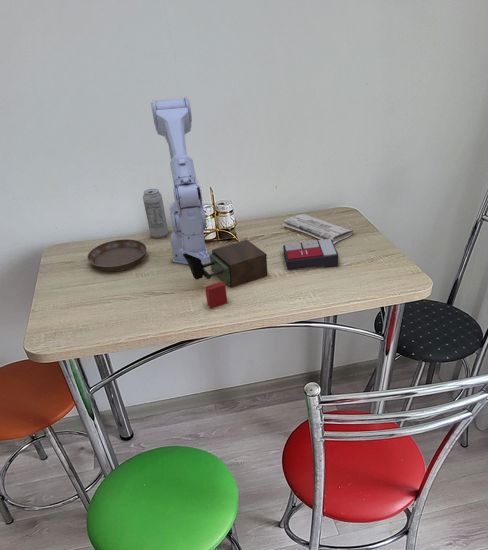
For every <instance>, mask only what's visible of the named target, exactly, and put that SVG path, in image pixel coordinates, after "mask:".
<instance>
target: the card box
mask: <svg viewBox="0 0 488 550" xmlns="http://www.w3.org/2000/svg"><path fill="white" fill-rule="evenodd" d="M226 286H227V285H226V284H225V283H224V282H223V281H222V280H221V281H218V282H214V283H212V284H209V285H205V286H204V289H205V297H206V303H207V306H208V307H209V308H210V309H215V308H217V307H221V306H223V305H226V304H228V297H227V295H228V294H227V287H226Z"/></svg>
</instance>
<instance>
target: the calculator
mask: <svg viewBox="0 0 488 550" xmlns="http://www.w3.org/2000/svg"><path fill="white" fill-rule="evenodd" d="M282 249H283V256H284V261H285V265H286V270H287V271H294V270H302V269H311V268H317V267H318V268H319V267H323V268H333V267H339V253H338V251H337V248H336V246H335V244H333V241H332V239H325V240H320V239H312V240H305V241H297V242H289V243H287V242H286V243H284V244H283V245H282Z"/></svg>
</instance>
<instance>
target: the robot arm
mask: <svg viewBox="0 0 488 550" xmlns="http://www.w3.org/2000/svg"><path fill="white" fill-rule="evenodd" d="M150 107H151V113H152V117H153V118H152V119H153V124H154V127H155V131H156V132H157V135H159V136H161V137H164V139H165V140H166V143H167V146H168V150H169V156H170V161H169V166H170V171H171V176H172V181H173V189H172V190H173V198H174V201H173V202H172V203H171V204H170V205H169V211H170V213H169V215H170V222H171V226H172V230H173V231H172V233H171V236H170V245H171V252H172V257H173V259H172V263H177V264H184V265H188V266H189V270H190V273H191V274H192V277H193V278H194V279H195V280H196V281H197V280H200V279H203V277H204V275H203V274H202V273H203V271H204V269H205V267H204V266H205V264H208V263H210V256H209V254H212V252H208V249H207V245H206V242H205V234H204V233H205V232H204V230H206V229H207V226H208V224H207V218H206V211H205V209H204V204H203V195H202V189H201V186H200V183H199V180H198V178H197V176H196V170H195V165H194V161H193V159H192V158H191V156H189V155H188V154H187V143H186V135H187V134H188V133H190V132H191V131H192V121H193V116H192V108H191V102H190V100H189V98H187V96H184V97H180V98H168V99H167V98H166V99H157V100H156V99H152V100H151V102H150Z"/></svg>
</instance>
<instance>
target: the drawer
mask: <svg viewBox="0 0 488 550" xmlns="http://www.w3.org/2000/svg"><path fill="white" fill-rule="evenodd" d="M209 256H210V257H209V259H210V263H208V264H205V266H204V271H203V273H202V274H203V277H204V278H205V279H207V280H210V279H211V278H212V277H214V276H217V278H218V279H220V280H221V281H222V282H223V283H224V284H225V285H226V286H230V285H229V284H231V279H230V269H229V266H228V265H227V264H226V263H224V262H223V261H222V260H221V259H220V258H219V257H217V256H215V255H214V254H212V253H211V254H209ZM208 267H210V270H211V272H212V273H209V272H208V271H207V270H206V269H205V268H208Z"/></svg>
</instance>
